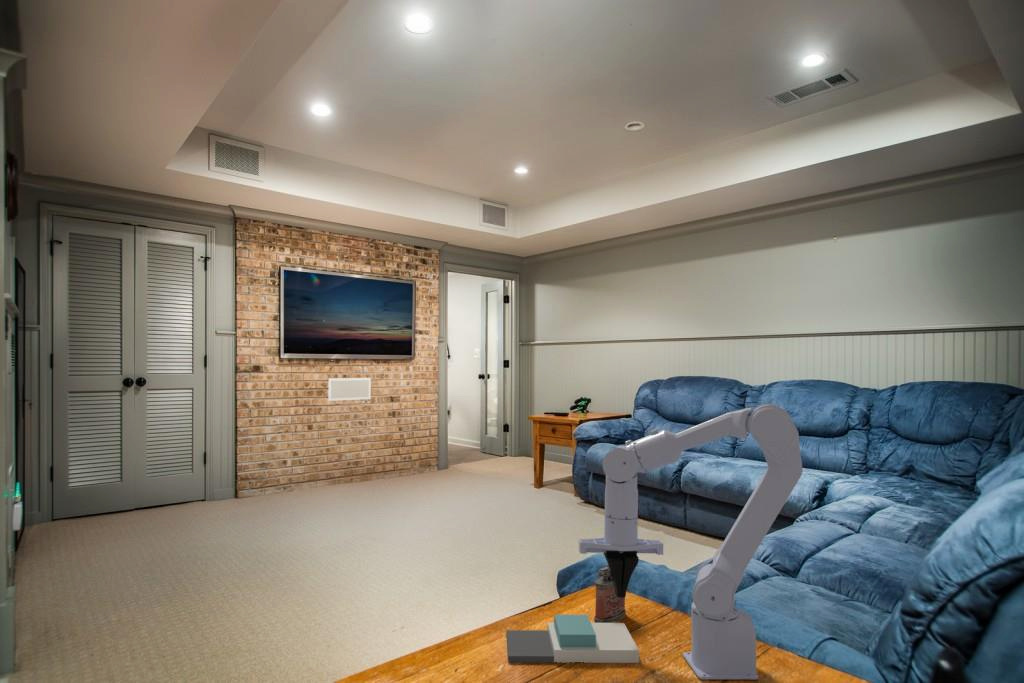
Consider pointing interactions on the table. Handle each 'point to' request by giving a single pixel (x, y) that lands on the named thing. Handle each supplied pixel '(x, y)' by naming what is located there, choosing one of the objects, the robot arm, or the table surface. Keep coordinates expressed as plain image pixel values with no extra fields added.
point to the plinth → (598, 646)
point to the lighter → (607, 599)
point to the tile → (574, 631)
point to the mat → (529, 646)
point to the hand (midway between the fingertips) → (620, 595)
